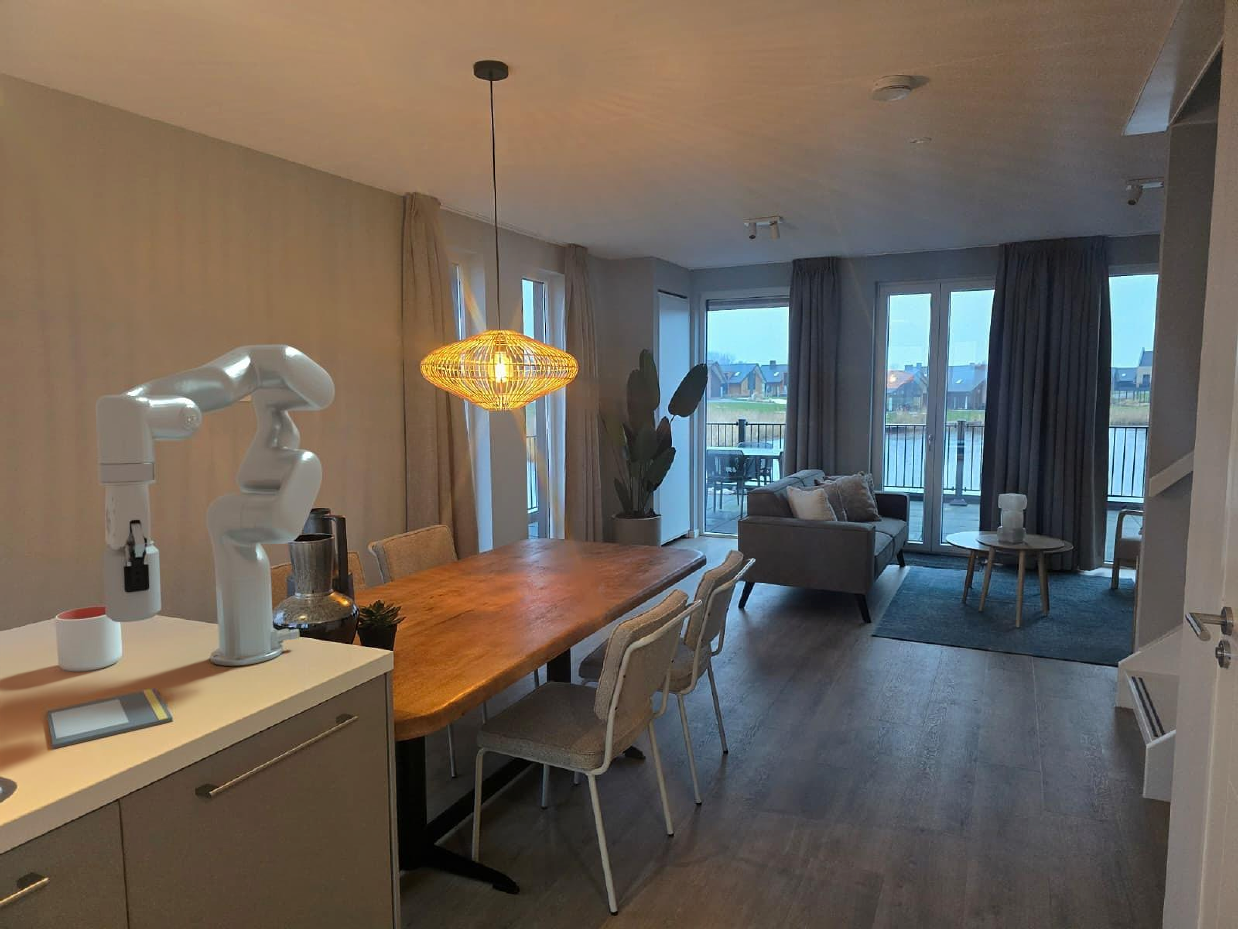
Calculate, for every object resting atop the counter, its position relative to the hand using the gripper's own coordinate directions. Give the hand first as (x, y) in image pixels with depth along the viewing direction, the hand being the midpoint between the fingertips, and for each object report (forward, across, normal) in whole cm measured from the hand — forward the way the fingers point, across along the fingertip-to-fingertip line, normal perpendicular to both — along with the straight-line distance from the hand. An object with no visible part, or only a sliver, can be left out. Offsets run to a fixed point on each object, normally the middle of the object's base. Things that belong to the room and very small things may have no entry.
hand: (132, 586), depth 124 cm
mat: (+20, -1, -4) cm, 21 cm away
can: (+5, 0, 0) cm, 5 cm away
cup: (+20, -33, -2) cm, 39 cm away
